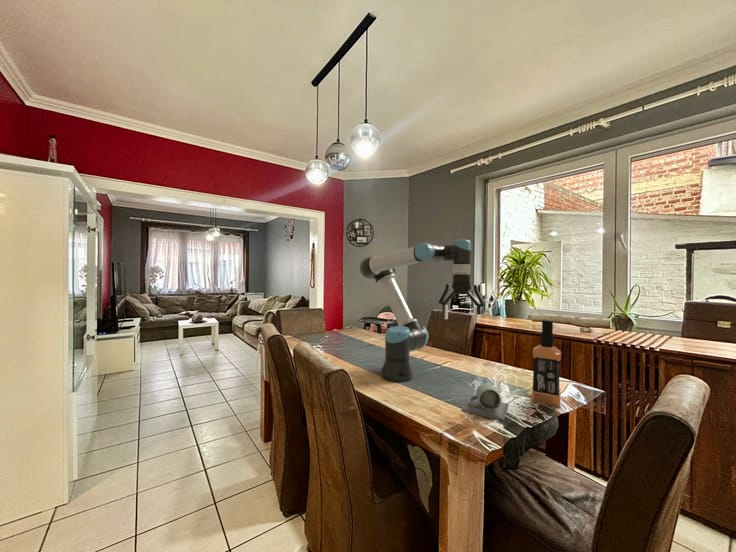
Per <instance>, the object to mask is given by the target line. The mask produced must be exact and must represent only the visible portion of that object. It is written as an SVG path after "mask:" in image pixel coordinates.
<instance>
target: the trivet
mask: <svg viewBox="0 0 736 552" xmlns="http://www.w3.org/2000/svg"><path fill="white" fill-rule="evenodd" d="M472 396H473V395H470V396H469V398H471V397H472ZM469 398H468V400H469ZM468 400H466V402H465V404H464V406H462V409H461V411H462V412H464V411H465V412H466V413H468V412H469V414H473V415H477V416H480V417H481V416H482V417H486V418H489V419H494V420H497V421H502V422H504V421H505V419H506V414H507V411H508V409H509V406H510V404H509V403H508V402H507V403H506V402H502V401H501V403H500V406H499V407H498V408H497V409H496V410H493V411H488V410H485V409H484V408H482V407H481V405H478V406H470V405H469V402H468ZM475 401H478V399H476V400H474V401H472V402H475ZM465 412H464V413H465Z"/></svg>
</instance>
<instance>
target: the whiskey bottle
mask: <svg viewBox="0 0 736 552" xmlns="http://www.w3.org/2000/svg"><path fill="white" fill-rule="evenodd" d="M553 325H554V322H553V320H551V319H542V320H541V330H542V331H541V334H540V336H539V337H540V338H539V339H540V344H538V345H536V346H534V347H533V349H532V357H533V376H532V377H533V378H532V388H531V395H530V401H531V402H533V403H537V404H542V405H547V406H551V407H557V408H560V407H561V389H560V361H561V360H562V351H561V350H560V349H558V347H556V346H554V342H555V337H554V336H555V335H554V333H553V330H554V328H553V327H554V326H553Z"/></svg>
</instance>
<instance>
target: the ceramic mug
mask: <svg viewBox="0 0 736 552" xmlns="http://www.w3.org/2000/svg"><path fill="white" fill-rule="evenodd" d="M475 391H476V392H475V395H471V396H472V397H471V398H470V397H469V398H468V399H469V400H467V401H468V402H469V405H470V406H478V405H481V407H482V408H484V409H485V410H488V411H493V410H496V409H497V408H498V407H499V406H500V403H501V402H502V399H501V395H500V394H499V392H498V391H497V390H496V389H495V388H494V386H492V385H490V384H488V383H483V384H480V385H479V386H478V387H477V389H476V390H475ZM476 399H478V401H475V402H472V401H474V400H476Z"/></svg>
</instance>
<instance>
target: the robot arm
mask: <svg viewBox="0 0 736 552" xmlns="http://www.w3.org/2000/svg"><path fill="white" fill-rule="evenodd" d="M471 246H472V245H471V241H470V239H455V240H453V244H435V243H429V242H420V243H418V244H417V245H416V246H412V247H409V248H405V249H402V250H399V251H395V252H392V253H388V254H384V255H380V256H376V255H373V256H370V257H366V258H363V259H361V261H360V264H359V272H360V274H361V275H362V276H363V277H364V278H367V279H369V280H370V279H371V280H372V279H373V280H374V281H375V284H376V285H377V286H380V287H381V289H382V292H383V294H384V296H385V299H386V300H387V303H388V305H389V307H390V309H391V312H392V314H393V316H394V318H395V320H396V323H397V326H391V327H389V328H387V329H386V331H385V336H384V341H385V342H384V351H385V353H384V355H385V356H384V363H383V366H382V369H381V373H380V375H381V376H380V377H381V378H382V379H384V380H386V381H390V382H397V383H398V382H399V383H402V382H409V381H411V380H412V379H413V378H414V377H413V376H414V373H413V367H412V365H411V363H410V362H411V361H410V352H414V351H416V350H420V349H422V348H424V347H425V346H426V345H427V344H428V340H429V338H430V337H429V336H430V335H429V331H428V330H427V328H426V327H425V326H423V325H422V324H421V325H420V323H419V320H418V319H416V318H414V317H413V314H412V313H411V310H410V307H408V305H407V302H406V300H405V298H404V295H403V294H402V292H401V290H400V288H399V286H398V284H397V281H396V278H397V275H396V272H397V268H401V267H406V266H410V265H413V264H418V263H423V262H428V261H432V262H452V263H453V265H452V268H453V269H452V272H453V275H452V284H450V283H447V284H445V289H444V291H443V292H442V294H441V296H440V299H439V300H438V303H439V304H440V305H442V313H444V320H448V319H449V304H448V303H449V302H450V301H451V300H452V299H453V297H454V296H455V295H456V294H457V295H466V296H467V297H468V298H469V300H471V301H472V302H473V304H474V305H475V307H474V323H478V322H479V316H480V315H481V309H482V308H481V307H484V306H486V303H485V301H484V299H483V297H482V294H481V293H480V290H479V289H478V288H479V287H478V285H477V284H474V285H472V284H471V257H472V256H471V254H472V247H471ZM450 289H452V292H451V293H450V295H448V296H447V294H448V293H449V291H450ZM471 289H472V290H473V291H474V294H475V295H476V297H477V299H478V300H477V299H476V297H475V296H474V295H473V294H472V292H471V291H470V290H471ZM446 296H447V297H446Z"/></svg>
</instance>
